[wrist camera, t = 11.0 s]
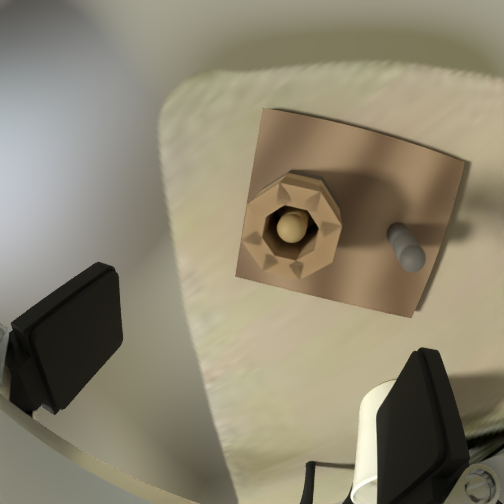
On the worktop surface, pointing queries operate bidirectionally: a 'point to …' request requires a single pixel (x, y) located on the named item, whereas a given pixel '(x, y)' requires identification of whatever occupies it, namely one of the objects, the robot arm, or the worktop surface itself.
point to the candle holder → (368, 446)
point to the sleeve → (317, 235)
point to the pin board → (359, 209)
